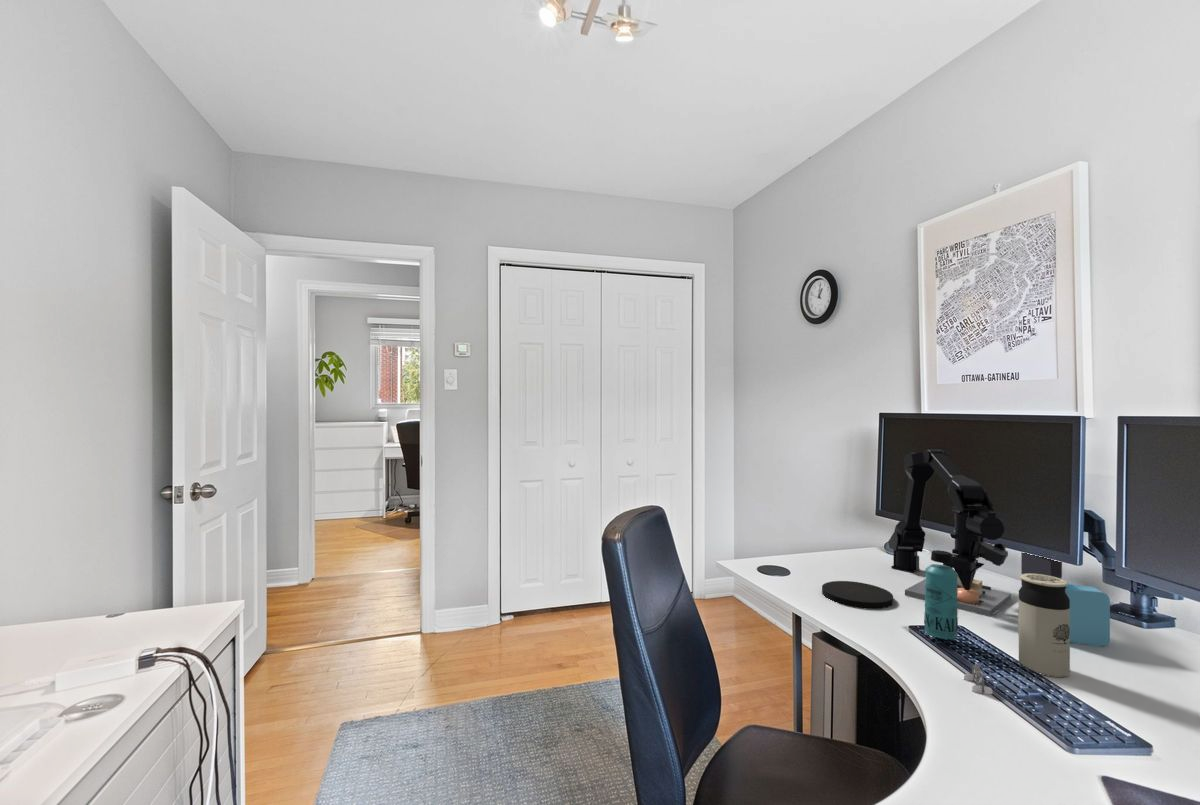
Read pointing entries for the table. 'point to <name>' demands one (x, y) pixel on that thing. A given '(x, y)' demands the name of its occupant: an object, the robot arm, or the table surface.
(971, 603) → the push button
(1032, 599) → the travel mug
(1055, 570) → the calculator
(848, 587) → the wireless charger
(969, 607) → the grey railed board
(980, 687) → the grey lobed figure
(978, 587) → the beech slider
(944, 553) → the beverage bottle
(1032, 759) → the table surface
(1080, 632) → the data package
